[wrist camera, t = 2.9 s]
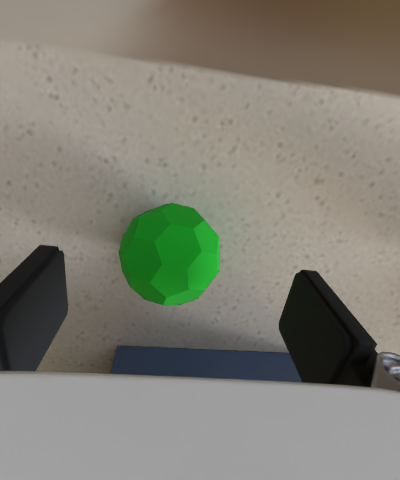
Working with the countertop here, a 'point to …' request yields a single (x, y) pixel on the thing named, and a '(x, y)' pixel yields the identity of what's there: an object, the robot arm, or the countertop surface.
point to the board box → (205, 364)
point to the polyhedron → (169, 254)
